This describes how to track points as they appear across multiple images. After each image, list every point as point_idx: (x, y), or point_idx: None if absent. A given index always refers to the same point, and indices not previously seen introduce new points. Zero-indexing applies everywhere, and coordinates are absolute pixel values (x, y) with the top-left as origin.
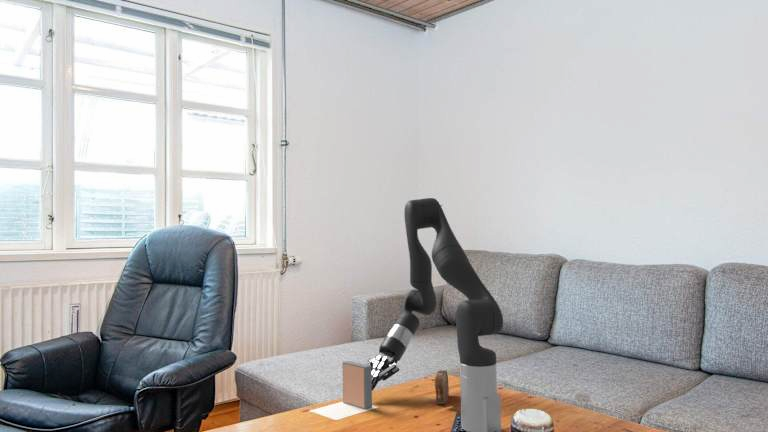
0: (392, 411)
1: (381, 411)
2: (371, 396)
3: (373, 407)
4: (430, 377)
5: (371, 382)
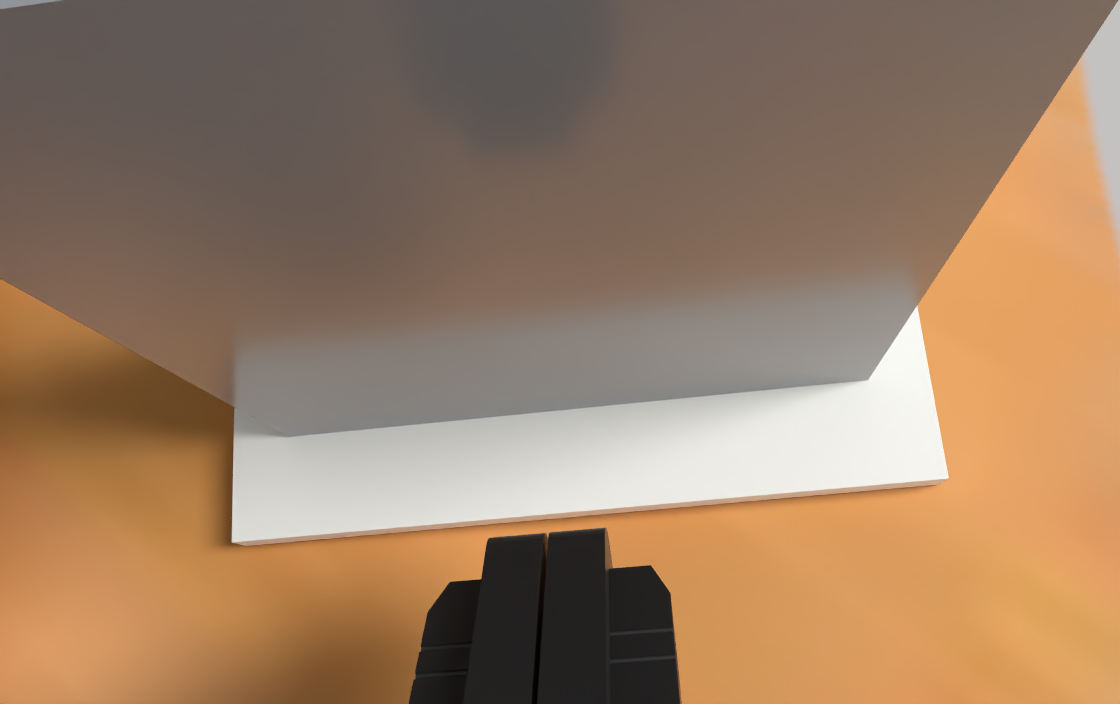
0: (12, 641)
1: (141, 508)
2: (209, 385)
3: (279, 462)
4: None
5: (47, 299)
